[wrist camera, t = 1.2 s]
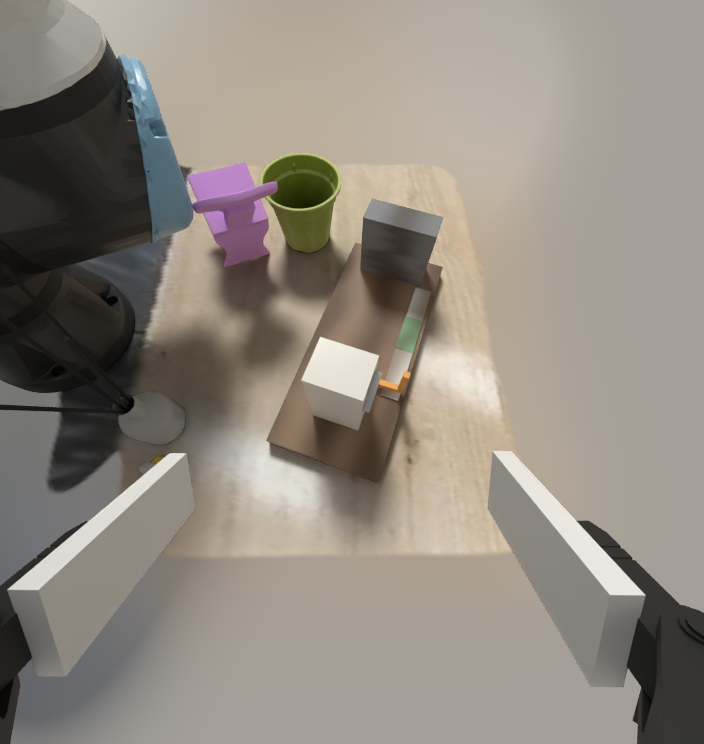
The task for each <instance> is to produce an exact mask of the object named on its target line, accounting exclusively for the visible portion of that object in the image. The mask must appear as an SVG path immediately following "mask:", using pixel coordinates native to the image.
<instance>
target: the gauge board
mask: <svg viewBox="0 0 704 744" xmlns="http://www.w3.org/2000/svg"><path fill="white" fill-rule="evenodd" d="M442 220H443V217H440V216H436V215H433V214H429V213H425V212H421V211H417V210H414V209H410V208H406V207H402V206H398V205H395V204H391V203H387V202H383V201H379V200H376V199H371V202H370V204H369V206H368V208H367V210H366V213H365V215H364V217H363V230H362V244H359V243H355V244H354V247H353V249H352V251H351V253H350V256H349V258H348V260H347V262H346V265H345V267H344V269H343V271H342V273H341V276H340V278H339V280H338V282H337V285H336V287H335V289H334V291H333V293H332V296H331V298H330V300H329V302H328V305H327V307H326V309H325V311H324V313H323V316H322V318H321V320H320V322H319V325H318V327H317V329H316V331H315V333H314V336H313V338H312V340H311V342H310V345H309V347H308V349H307V351H306V353H305V356H304V358H303V360H302V362H301V365H300V367H299V369H298V371H297V373H296V376H295V378H294V380H293V382H292V385H291V387H290V389H289V391H288V393H287V396H286V398H285V400H284V402H283V405H282V407H281V409H280V411H279V413H278V416H277V418H276V420H275V422H274V425H273V427H272V429H271V431H270V433H269V436H268V438H267V440H266V441H268V442H269V443H270V444H273V445H276V446H279V447H281V448H284V449H287V450H290V451H292V452H295V453H298V454H301V455H303V456H306V457H309V458H312V459H314V460H317V461H320V462H323V463H325V464H328V465H331V466H334V467H336V468H339V469H342V470H345V471H347V472H350V473H353V474H356V475H358V476H361V477H364V478H367V479H370V480H372V481H375V482H379V480H380V477H381V473H382V470H383V466H384V463H385V460H386V456H387V453H388V450H389V446H390V443H391V439H392V436H393V433H394V429H395V426H396V423H397V419H398V416H399V413H400V409H401V406H402V402H403V399H404V396H405V392H406V389H407V386H408V382H409V380H408V382H407V384H406V386H405V388H404V390H403V392H402V394H401V393H398V392H395V391H392V390H389V389H386V388H383V387H380V386H378V388H377V391H376V395H375V398H374V401H373V403H372V406H371V409H370V412H369V413H367V412H365V413H364V415H363V418H362V421H361V424H360V427H359V430H358V431H357V430H354V429H351V428H348V427H346V426H343V425H340V424H337V423H334V422H331V421H328V420H325V419H323V418H320V417H317V416H314V415H313V414H312V411H311V408H310V405H309V402H308V399H307V396H306V393H305V390H304V387H303V384H302V381H301V380H302V377H303V375H304V373H305V370H306V368H307V366H308V364H309V361H310V359H311V357H312V355H313V352H314V350H315V348H316V345H317V343H318V341H319V339H320V337H322V338H325V339H329V340H332V341H335V342H338V343H341V344H344V345H347V346H351V347H354V348H357V349H360V350H363V351H366V352H369V353H373V354H376V355H379V359H378V363H377V368H376V371H378V372H381V373H382V375H381V379H382V380H385V381H388V382H391V383H394V384H397V385H399V383H400V381H401V378H402V376H403V374H404V371H406V372H410V373H411V372H412V369H413V365H414V362H415V359H416V355H417V352H418V349H419V345H420V342H421V338H422V335H423V332H424V328H425V325H426V322H427V318H428V315H429V312H430V308H431V305H432V301H433V298H434V295H435V291H436V288H437V285H438V281H439V278H440V274H441V271H442V268H443V267H441V266H437V265H434V264H430V263H428V262H429V259H430V256H431V253H432V250H433V247H434V244H435V241H436V238H437V235H438V232H439V229H440V226H441V223H442ZM410 375H411V374H410ZM409 379H410V377H409Z"/></svg>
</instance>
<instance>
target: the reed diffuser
mask: <svg viewBox="0 0 704 744" xmlns="http://www.w3.org/2000/svg"><path fill="white" fill-rule="evenodd" d="M4 272H5V273H6V274H7V275H8V276H9V277H10V278H11V279H12V280H13V281H14V282H15V283H16V284H17V285H18V286H19V287H20V288H21V290H22V291H23V292H24V293H25V294H26V295H27V296H28V297H29V298H30V299H31V300H32V301H33V302H34V303H35V304H36V305H37V306H38V308H39V309H40V310H41V311H42V312H43V313H44V314H45V315H46V316H47V317H48V318H49V319H50V320H51V321H52V322H53V323H54V324H55V325H56V327H57V328H58V329H59V330H60V331H61V332H62V333H63V334H64V335H65V336H66V337H64V341H65V342H66V343H67V344H68V345H69V346H70V348H71V349H72V350H73V351H74V352H75V353H76V354H77V355H78V356H79V358H80V359H81V360H82V361H83V362H84V363H85V364H86V365H87V366H88V368H89V369H90V370H91V371H92V372H93V373H94V374H95V375H96V377H97V378H98V379H99V380H100V381H101V382H102V383H103V384H104V385H105V387H106V388H107V389H108V390H109V391H110V392H111V393H112V394H113V396H114V397H115V398H116V400H114V399H113V398H112V397H110V396H109V395H108V394H106V393H105V392H104V391H102V390H101V389H100V388H98V387H97V386H96V385H94V384H93V383H92V382H90V381H89V380H87V379H86V378H85V377H83V376H82V375H81V374H79V373H78V372H77V371H75V370H74V369H73V368H71V367H70V366H69V365H67V364H66V363H65V362H63V361H62V360H60V359H59V358H58V357H56V356H55V355H54V354H52V353H51V352H50V351H48V350H47V349H46V348H44V347H43V346H42V345H40V344H39V343H38V342H36V341H35V340H34V339H32V338H31V337H29V336H28V335H27V334H25V333H24V332H23V331H21V330H20V329H19V328H17V327H16V326H15V325H13V324H12V323H11V322H9V321H8V320H7V319H5V318H4V317H3V316H1V315H0V322H2V323H3V324H4V325H6V326H7V327H9V328H10V329H11V330H13V331H14V332H16V333H17V334H18V335H20V336H21V337H23V338H24V339H25V340H27V341H28V342H29V343H31V344H32V345H34V346H35V347H36V348H38V349H39V350H41V351H42V352H43V353H45V354H46V355H47V356H49V357H50V358H52V359H53V360H54V361H56V362H57V363H59V364H60V365H61V366H63V367H64V368H66V369H67V370H68V371H70V372H71V373H72V374H74V375H75V376H77V377H78V378H79V379H81V380H82V381H84V382H85V383H86V384H88V385H89V386H90V387H92V388H93V389H95V390H96V391H97V392H99V393H100V394H102V395H103V396H104V397H106V398H107V399H108V400H110V401H111V402H113V406H112V409H113V410H98V409H77V408H57V407H55V408H54V407H37V406H16V405H0V410H26V411H55V412H85V413H114V414H118V415H119V418H118V421H119V426H120V428H121V430H122V431H123V432H124V433H125V434H126V435H127V436H129V437H131V438H133V439H135V440H138V441H142V442H146V443H150V444H154V445H163V444H167V443H170V442H171V441H173V440H174V439H176V438H177V437H178V436H179V435H180V434H181V432H182V431H183V429H184V426H185V422H186V417H185V413H184V411H183V410H182V408H181V407H180V406H178V405H177V404H176V403H174V402H173V401H172V400H170V399H169V398H167V397H166V396H164V395H162V394H160V393H157V392H142V393H139V394H136V395H134V396H131V395H127V394H125V393H124V392H123V391H122V390H121V389H120V388H119V387H118V386H117V385H116V384H115V383H114V381H113V380H112V379H111V378H110V377H109V376H108V375H107V374H106V373H105V372H104V371H103V370H102V368H101V367H100V366H99V365H98V364H97V363H96V362H95V361H94V360H93V359H92V358H91V357H90V356H89V354H88V353H87V352H86V351H85V350H84V349H83V348H82V347H81V346H80V345H79V344H78V343H77V341H76V340H75V339H74V338H73V337H72V336H71V335H70V334H69V333H68V332H67V331H66V330H65V329H64V327H63V326H62V325H61V324H60V323H59V322H58V321H57V320H56V319H55V318H54V317H53V316H52V315H51V313H50V312H49V311H48V310H47V309H46V308H45V307H44V306H43V305H42V304H41V303H40V302H39V300H38V299H37V298H36V297H35V296H34V295H33V294H32V293H31V292H30V291H29V290H28V289H27V288H26V286H25V285H24V284H23V283H22V282H21V281H20V280H19V279H18V278H17V277H16V276H15V275H14V273H13V272H12V271H11V270H10V269H5V270H4ZM97 370H98V371H99V372H100V373H101V374H102V375H103V376H104V377H105V378H106V379H107V380H108V382H109V383H110V384H111V385H112V386H113V387H114V388H115V389H116V390H117V391H118V392H119V393H120V394H121V396H119V395H118V394H117V393H116V392H115V391H114V389H113V388H112V387H111V386H110V385H109V384H108V382H107V381H106V380H105V379H104V378H103V376H102V375H101V374H100V373H99V372H98V371H97ZM162 459H163V457H161V456H157V457H156V458H155V459H154V460H153V461H152V462H151V463H150V462H144V463H143V464H142V465H141V466H140V467H139V471H140V472H141V473H142V474H143V475H144V474H145V473H147V472H148V471H149V470H150V469H151V468H153V467H154V466H155V465H156V464H157V463H159V462H160V461H161V460H162Z"/></svg>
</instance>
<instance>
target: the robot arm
mask: <svg viewBox="0 0 704 744" xmlns="http://www.w3.org/2000/svg"><path fill="white" fill-rule="evenodd" d="M192 219H193V207H192V203H191V200H190V197H189V194H188V191H187V188H186V185H185V182H184V179H183V176H182V173H181V170H180V167H179V164H178V161H177V159H176V155H175V153H174V150H173V147H172V144H171V141H170V138H169V136H168V133H167V131H166V127H165V124H164V121H163V119H162V116H161V113H160V109H159V106H158V103H157V101H156V98H155V95H154V92H153V90H152V86H151V84H150V81H149V79H148V75H147V73H146V70H145V68H144V66H143V64H142V63H141V62H140V61H139V60H138V59H136V58H133V57H131V58H129V57H127V56H126V55H119V56H118V59H117V58H116V57H115V55H114V53H113V51H112V49H111V47H110V45H109V43H108V41H107V39H106V37H105V35H104V33H103V31H102V30H101V28H100V26H99V24H98V23H97V22H96V21H95V19H93V18H92V17H91V16H90V15H88V14H87V13H85V12H84V11H82V10H81V9H79V8H78V7H76V6H75V5H73V4H72V3H71V2H69V1H67V0H0V315H1V316H3V317H4V318H5V319H7V320H8V321H9V322H11V323H12V324H13V325H15V326H16V327H17V328H19V329H20V330H21V331H23V332H24V333H25V334H27V335H28V336H29V337H31V338H32V339H34V340H35V341H36V342H38V343H39V344H40V345H42V346H43V347H44V348H46V349H47V350H48V351H50V352H51V353H52V354H54V355H55V356H56V357H58V358H59V359H60V360H62V361H63V362H65V363H66V364H67V365H69V366H70V367H71V368H73V369H74V370H75V371H77V372H78V373H79V374H81V375H82V376H83V377H85V378H86V379H87V380H89V381H91V380H92V379H94V378H96V375H95V374H94V373H93V372H92V371H91V370H90V369H89V368H88V366H87V365H86V364H85V363H84V362H83V361H82V360H81V359H80V358H79V356H78V355H77V354H76V353H75V352H74V351H73V350H72V349H71V348H70V346H69V345H68V344H67V343H66V342H65V341H64V337H66V336H65V335H64V334H63V333H62V332H61V331H60V330H59V329H58V328H57V327H56V325H55V324H54V323H53V322H52V321H51V320H50V319H49V318H48V317H47V316H46V315H45V314H44V313H43V312H42V311H41V310H40V309H39V308H38V306H37V305H36V304H35V303H34V302H33V301H32V300H31V299H30V298H29V297H28V296H27V295H26V294H25V293H24V292H23V291H22V290H21V288H20V287H19V286H18V285H17V284H16V283H15V282H14V281H13V280H12V279H11V278H10V277H9V276H8V275H7V274H6V273H5V272H4V270H5V269H10V270H11V271H12V272H13V273H14V275H15V276H16V277H17V278H18V279H19V280H20V281H21V282H22V283H23V284H24V285H25V286H26V288H27V289H28V290H29V291H30V292H31V293H32V294H33V295H34V296H35V297H36V298H37V299H38V300H39V302H40V303H41V304H42V305H43V306H44V307H45V308H46V309H47V310H48V311H49V312H50V313H51V315H52V316H53V317H54V318H55V319H56V320H57V321H58V322H59V323H60V324H61V325H62V326H63V327H64V329H65V330H66V331H67V332H68V333H69V334H70V335H71V336H72V337H73V338H74V339H75V340H76V341H77V343H78V344H79V345H80V346H81V347H82V348H83V349H84V350H85V351H86V352H87V353H88V354H89V356H90V357H91V358H92V359H93V360H94V361H95V362H96V363H97V364H98V365H99V366H100V367H101V368H102V370H103V371H106V370H107V369H108V368H109V367H110V366H111V365H112V364H113V363H114V362H115V361H116V360H117V359H118V358H119V357H120V356H121V354H122V353H123V352H124V350H125V348H126V347H127V345H128V343H129V341H130V339H131V336H132V333H133V329H134V312H133V308H132V306H131V304H130V302H129V300H128V299H127V297H126V296H125V295H124V294H123V293H122V292H121V291H120V290H119V289H118V288H117V287H116V286H114V285H113V284H112V283H111V282H110V281H108V280H107V279H105V278H103V277H102V276H100V275H97V274H95V273H93V272H91V271H89V270H87V269H85V268H83V267H81V266H78V265H76V264H75V263H79V262H82V261H86V260H89V259H93V258H96V257H99V256H103V255H106V254H110V253H113V252H117V251H120V250H123V249H127V248H130V247H134V246H137V245H141V244H144V243H147V242H151V243H155V242H156V241H158V240H159V238H162V237H164V236H167V235H170V234H173V233H176V232H179V231H182V230H184V229H186V228H187V227H188V226H189V225H190V223H191V221H192ZM97 371H98V370H97ZM98 372H99V371H98ZM99 373H100V372H99ZM100 374H101V373H100ZM0 380H2V381H4V382H6V383H8V384H11V385H13V386H16V387H19V388H22V389H24V390H28V391H32V392H38V393H52V392H60V391H65V390H69V389H72V388H75V387H78V386H80V385H83V384H85V382H84V381H82V380H81V379H79V378H78V377H77V376H75V375H74V374H72V373H71V372H70V371H68V370H67V369H66V368H64V367H63V366H61V365H60V364H59V363H57V362H56V361H54V360H53V359H52V358H50V357H49V356H47V355H46V354H45V353H43V352H42V351H41V350H39V349H38V348H36V347H35V346H34V345H32V344H31V343H29V342H28V341H27V340H25V339H24V338H23V337H21V336H20V335H18V334H17V333H16V332H14V331H13V330H11V329H10V328H9V327H7V326H6V325H4V324H3V323H2V322H0ZM194 510H195V502H194V496H193V490H192V484H191V477H190V471H189V465H188V459H187V453H169V454H168V455H167V456H166V457H164V458H163V459H162V460H161V461H160V462H159V463H157V464H156V465H155V466H154V467H153V468H151V469H150V470H149V471H148V472H147V473H145V474H144V475H143V476H142V477H141V478H139V479H138V480H137V481H136V482H135V483H134V484H132V485H131V486H130V487H129V488H128V489H126V490H125V491H124V492H123V493H122V494H120V495H119V496H118V497H117V498H116V499H115V500H113V501H112V502H111V503H110V504H109V505H107V506H106V507H105V508H104V509H103V510H101V511H100V512H99V513H98V514H97V515H96V516H94V517H93V518H92V519H91V520H90V521H88V522H87V521H85V522H84V523H82V524H80V525H78V526H77V527H75V528H73V529H71V530H70V531H68V532H66V533H65V534H64V535H62V536H61V537H60V538H59V539H57V540H56V541H55V542H54V543H53V544H51V546H50V548H46V549H45V550H44V551H43V552H41V553H40V554H39V555H38V556H37V558H36V559H33V560H32V561H31V562H29V563H28V564H27V565H25V566H24V567H23V568H22V569H21V570H19V571H18V572H17V573H16V574H14V575H13V576H12V577H11V578H10V579H8V580H7V581H6V582H5V583H3V584H2V585H1V586H0V744H10V741H11V735H12V730H13V723H14V718H15V712H16V706H17V701H18V695H19V689H20V681H19V677H18V673H19V672H20V671H21V669H22V668H23V667H24V666H25V665H26V664H27V663H28V662H29V661H30V659H31V660H32V663H33V665H34V668H35V671H36V674H37V676H49V677H66V676H67V675H68V674H69V672H70V671H71V670H72V668H73V667H74V666H75V665H76V663H77V662H78V661H79V659H80V658H81V657H82V655H83V654H84V653H85V651H86V650H87V649H88V648H89V646H90V645H91V644H92V642H93V641H94V640H95V638H96V637H97V636H98V635H99V633H100V632H101V631H102V629H103V628H104V627H105V625H106V624H107V623H108V622H109V620H110V619H111V618H112V616H113V615H114V614H115V612H116V611H117V610H118V609H119V607H120V606H121V605H122V603H123V602H124V601H125V599H126V598H127V597H128V595H129V594H130V593H131V592H132V590H133V589H134V588H135V586H136V585H137V584H138V582H139V581H140V580H141V579H142V577H143V576H144V574H145V573H146V572H147V571H148V569H149V568H150V567H151V565H152V564H153V563H154V561H155V560H156V559H157V558H158V556H159V555H160V554H161V553H162V551H163V550H164V549H165V547H166V546H167V545H168V543H169V542H170V541H171V540H172V538H173V537H174V536H175V534H176V533H177V532H178V530H179V529H180V528H181V526H182V525H183V524H184V523H185V521H186V520H187V519H188V517H189V516H190V515H191V513H192V512H193V511H194ZM488 510H489V512H490V513H491V515H492V517H493V519H494V520H495V522H496V524H497V525H498V527H499V529H500V531H501V532H502V534H503V536H504V538H505V539H506V541H507V543H508V544H509V546H510V548H511V550H512V551H513V553H514V555H515V556H516V558H517V560H518V562H519V563H520V565H521V567H522V569H523V570H524V572H525V574H526V576H527V577H528V579H529V581H530V582H531V584H532V586H533V588H534V589H535V591H536V593H537V595H538V596H539V598H540V600H541V601H542V603H543V605H544V606H545V608H546V610H547V612H548V614H549V615H550V617H551V618H552V620H553V622H554V624H555V625H556V627H557V629H558V631H559V633H560V634H561V636H562V638H563V640H564V641H565V643H566V644H567V646H568V648H569V650H570V652H571V653H572V655H573V656H574V659H575V660H576V662H577V664H578V665H579V667H580V669H581V671H582V672H583V674H584V676H585V677H586V679H587V681H588V683H589V684H590V686H593V687H623V686H624V682H625V678H626V673H627V669H629V670H630V671H631V673H632V674H633V676H634V677H635V679H636V680H637V681H638V683H639V684H640V686H641V691H640V695H639V698H638V703H637V706H636V710H635V714H634V717H633V721H634V722H636V723H637V724H638V735H637V744H704V613H703V612H701V611H699V610H696V609H693V608H690V607H687V606H683V605H679V603H678V602H677V601H675V599H674V598H673V597H672V596H671V595H670V594H668V592H666V591H665V590H664V589H663V588H662V587H661V586H660V585H659V584H658V583H657V582H656V581H655V580H654V579H653V578H652V577H651V576H650V575H649V574H648V573H647V572H646V571H645V570H644V569H643V568H642V567H641V566H640V565H639V564H638V563H637V562H636V561H635V560H632V557H631V556H630V555H629V554H628V553H627V552H626V551H625V550H624V549H621V547H620V545H619V544H618V543H617V542H616V541H615V540H614V539H613V538H612V537H611V536H610V535H609V534H608V533H607V532H605V531H604V530H602V529H600V528H599V527H597V526H596V525H594V524H593V523H591V522H589V521H576V520H575V519H574V518H573V517H572V516H571V515H570V514H569V513H568V512H567V511H566V510H565V508H564V507H563V506H562V505H561V504H560V503H559V502H558V501H557V500H556V499H555V498H554V497H553V496H552V495H551V494H550V492H549V491H548V490H547V489H546V488H545V487H544V486H543V485H542V484H541V483H540V482H539V481H538V479H537V478H536V477H535V476H534V475H533V474H532V473H531V472H530V471H529V470H528V469H527V468H526V467H525V466H524V464H523V463H522V462H521V461H520V460H519V459H518V458H517V457H516V456H515V455H514V454H513V453H512V452H511V451H493V453H492V464H491V475H490V486H489V497H488Z"/></svg>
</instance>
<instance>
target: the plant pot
mask: <svg viewBox="0 0 704 744" xmlns="http://www.w3.org/2000/svg"><path fill="white" fill-rule="evenodd" d="M270 182H277V191H276V192H275V193H274V194H271V195H269V196H266V197H265V198H266V199H267V200H268V201H269V203H270V204H271V206H272V207H273V208H274V211H275V213H276V216H277V218H278V221H279V223H280V226H281V228H282V231H283V233H284V236H285V238H286V241H287V243H288V244H289V246H290V247H291V248H293V249H294V250H299V251H303V252H306V253H311V252H315V251H318V250H320V249H322V248H323V247H324V246H325V245H326V243H327V241H328V239H329V235H330V227H331V219H332V212H333V205H334V202H335V199H336V196H337V195H338V193H339V191H340V188H341V176H340V173H339V171H338V169H337V168H336V167H335V165H334V164H333V163H331V162H330V161H328V160H327V159H325V158H323V157H321V156H317V155H313V154H308V153H295V154H289V155H285V156H282V157H280V158H278V159H276V160H274V161H272V162H271V163H270V164H269V165H268V166H267V167H266V168H265V169H264V170H263V172H262V174H261V177H260V185H263V184H266V183H270Z"/></svg>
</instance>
